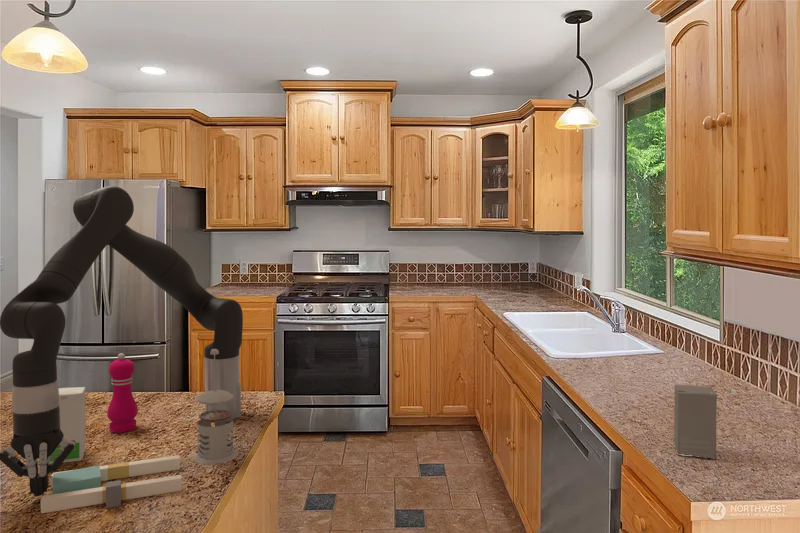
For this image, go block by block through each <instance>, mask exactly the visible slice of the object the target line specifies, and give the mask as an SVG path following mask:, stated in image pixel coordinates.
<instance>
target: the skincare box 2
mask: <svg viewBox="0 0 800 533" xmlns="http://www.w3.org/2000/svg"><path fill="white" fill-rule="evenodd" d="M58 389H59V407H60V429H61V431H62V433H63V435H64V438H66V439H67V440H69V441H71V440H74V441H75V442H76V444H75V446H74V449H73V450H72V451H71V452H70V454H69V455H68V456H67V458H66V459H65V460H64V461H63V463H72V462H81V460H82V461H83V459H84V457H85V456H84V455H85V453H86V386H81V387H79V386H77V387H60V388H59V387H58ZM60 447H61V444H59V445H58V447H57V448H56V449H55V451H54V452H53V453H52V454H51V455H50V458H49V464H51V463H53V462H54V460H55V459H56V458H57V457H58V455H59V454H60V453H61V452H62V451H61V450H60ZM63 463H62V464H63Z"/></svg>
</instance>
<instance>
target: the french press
mask: <svg viewBox="0 0 800 533" xmlns="http://www.w3.org/2000/svg"><path fill="white" fill-rule="evenodd" d="M210 354H211V355H214V390H212V391H207V392H205V391H204V392H203V393H201V394H199V395H198V396H197V397H196V402H198V403H200V404H203V405H205V404H207V412H205V411H203V412H202V413H200V414H199V416H198V418H199V420H198V421H197V452H196V454H195V455H194V456H193V461H195V462H196V463H198V464H201V465H218V464H217V463H220V464H223V462H224V463H227V462H230V461H232V460H234V459H235V458H236V457H237V456H238V454H239V452H238V451H237V449H235V448H234V419H233V418H232V417H230V416H231V412H230V411H228V410H219V409H218V410H216V404H221V403H226V402H228V401H231V400H232V399H233V396H234V395H232V394H231V393H229V392H227V391H223V390H216V386H215V355H216V354H219V351H218V350H217V349H212V350H211V352H210ZM208 404H209V405H214V410H211V411H208ZM212 422H214V426H212ZM227 422H228V423H227ZM226 423H227V424H226ZM229 433H230V434H229Z"/></svg>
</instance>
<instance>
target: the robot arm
mask: <svg viewBox="0 0 800 533" xmlns="http://www.w3.org/2000/svg"><path fill="white" fill-rule="evenodd" d="M134 206H135V205H134V202H133V199H132V196H131V195H130V194H129V193H128V191H126V190H125V189H123V188H122V187H119V186H116V185H115V186H114V185H110V186H109V185H108V186H104V187H100V188H97V189H95V190H93V191H90V192H87V193H85V194H83V195H81V196H79V197H78V198H76V199H75V200H74V203H73V207H72V211H73V214H74V217H75V219H76V220H77V222H78V223H79V224H80V226H81V229H79V231H78V232H76V234H74V235H73V236H72V237H71V238H70V239H69V240H68V241H66V243H64V244H63V245H62V246H61V247H60V248H59V249H58V250H57V251H56V252H55V253H54V254H53V255H52V257H51V258H50V259H49V260H48V262H47V263H46V264H45V266H44V267H43V268H42V270H41V271H40V273H39V274H38V276H37V277H36V279H35V280H34V281H33V282H31V283H29V284H28V285H27V286H26V287H25V288H23V289H22V290H21V291H20V292H19V293H17V294H16V295H15V296H14V297H13V298H11V300H10V301H9V302H8V303H7V304H6V305H5V307H4V308H3V310H2V312H1V314H0V330H1V332H2V333H3V334H4V335H5V336H7V337H9V338H13V339H20V340H25V339H26V340H33V343H32V346H31V349H30V350H26V351H22V352H19V353H17V354H15V355H14V356H13V359H12V366H11V367H12V393H11V395H12V396H11V410H12V435H13V436H12V439H11V440H10V443H9V444H10V445H8V446H7V447H6V448H3V449H1V451H0V461H1V463H3V464H4V465H5V466H6V467H8V468H9V469H10V470H11V471H12V472H13V473H14V474H15V475H17V476H18V477H21V478H22V477H27V478H28V479H29V493H30V494H33V496H34V497H40V496H45V492H47V491H48V489H49V487H50V485H49V484H50V482H49V474H50V473H55V472H57V470H58V469H59V468H60V466H61V465H62V464H63V461H64V460H65V459H66V458H67V456H68V455H69V454H70V452H71V451H72V450H73V449H74V446H75V444H76V442H75V441H74V440H71V441H69V440H67V439H66V438H64V435H63V433H62V431H61V429H60V407H59V389H58V388H59V385H58V370H57V369H58V368H57V359H58V355H59V350H60V347H61V344H62V338H63V335H64V331H65V328H66V322H67V321H66V316H65V312H64V310H63V309H62V308H61V306H60V305H59V304H62V303H66V302H68V301H69V300H70V299H71V298H72V297H73V295H74V294H75V292H76V291H77V289H78V287H79V286H80V284H81V282H82V281H83V279H84V278H85V276H86V275H87V273H88V271H89V270H90V268H91V267H92V265H93V263H95V261H96V260H97V258H98V257H99V255H101V253H102V252H103V251H104V250H105V248H106V247H107V246H109V247H110V248H111V249H113V250H115V251H116V252H117V253H119V254H120V255H121V256H122V257H124V258H125V259H126V260H127V261H128V262H130V263H131V264H132V265H133V266H134V267H135V268H137V270H139V271H140V272H142V273H143V274H144V275H145V276H146V277H147V278H148V279H149V280H151V281H152V282H153V283H154V284H155V285H157V287H159V288H160V289H161V290H163V291H164V292H165V293H167V294H168V295H169V296H170V297H172V298H173V299H174V300H175V301H177V302H178V303H179V304H180V305H182V306H183V307H184V308H185V310H187V311H188V312H189V314H190V315H191V316H192V317H193V318H194V320H196V321H197V323H198V324H200V326H202V328H205V330H209V331H212V332H213V331H214V334H213V342H212V343H209V344H207V345H206V346H205V347H204V349H203V350H204V352H203V354H204V358H203V359H204V360H203V361H204V393H205V392H207V391H212V390H214V355H211V354H210V352H211V350H212V349H217V350H218V351H219V354H216V355H215V386H216V390H223V391H227V392H229V393H231V394H232V395H234V396H233V399H232V400H231V401H228V402H226V403H221V404H216V410H218V409H219V410H228V411H230V412H231V416H230V417H232V418H233V420H235V419H238V418H239V419H240V418H242V404H241V403H242V398H241V397H242V389H241V388H242V387H241V386H242V385H241V382H240V348H241V347H242V343H243V326H244V324H243V323H244V317H243V316H244V315H243V309H242V306H241V305H240V302H238V301H237V300H235V299H231V298H223V297H222V298H221V297H216V296H215V295H213V294H211V293H210V292H209V291H207V290H206V289H205V288H204V287H202V286H201V284H200V283H199V282H198V280H197V278H196V276H195V273H194V271H193V269H192V267H191V265H190V264H189V263H188V261H187V260H186V259H185V258H184V257H183V256H182V255H181V254H179V253H178V252H177V251H176V250H175V248H173V247H172V246H170V245H168V244H167V243H164V242H163V241H161V240H157V239H155V238H153V237H149V236H147V235H145V234H142V233H140V232H137V231H136V230H134V229H132V228H131V227H130V226H128V225H127V224H128V223H129V221H130V220H131V219H132V217H133V215H134V211H135V209H134ZM211 410H214V405H209V404H208V411H211ZM204 412H207V404H204ZM59 444H61V447H60V450H61V451H62V452H61V453H60V454H59V455H58V457H57V458H56V459H55V460H54V462H53V463H51V464H49V458H50V455H51V454H52V453H53V452H54V451H55V449H56V448H57V447H58V445H59ZM16 453H17V454H18V455H19V456H20V457H21V458H22V459H24V460H25V463H24V462H22V461H21V459H20V458H19V457H17V456H16Z"/></svg>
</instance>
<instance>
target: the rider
mask: <svg viewBox="0 0 800 533" xmlns="http://www.w3.org/2000/svg"><path fill="white" fill-rule="evenodd" d="M99 466H100V465H94V466H93V465H92V466H87V467H83V468H78V469H77V470H76V469H70V470H71V471H69V470H65V471H66V472H62V471H60V472H61V473H55V472H54V473H55V474H53V473H52V474H53V488H52V494H59V493H65V492H72V491H78V490H85V489H91V488H98V487H102V481H101V474H100V467H99Z"/></svg>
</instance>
